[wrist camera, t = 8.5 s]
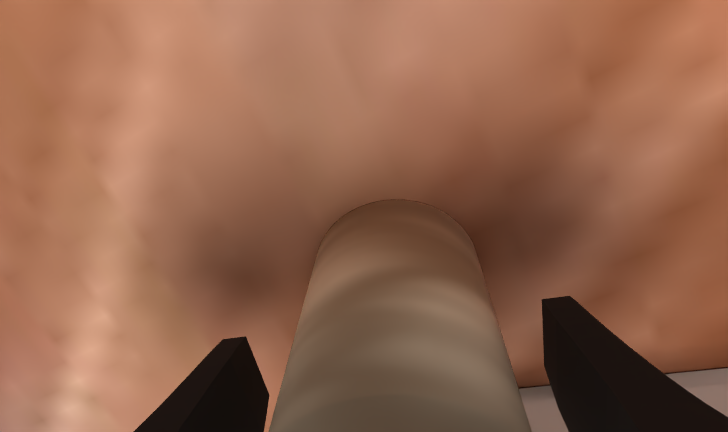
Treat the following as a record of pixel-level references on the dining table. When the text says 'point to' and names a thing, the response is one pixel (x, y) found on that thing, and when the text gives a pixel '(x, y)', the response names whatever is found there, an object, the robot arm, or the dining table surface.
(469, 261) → the cylinder
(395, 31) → the dining table surface
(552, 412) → the tote
